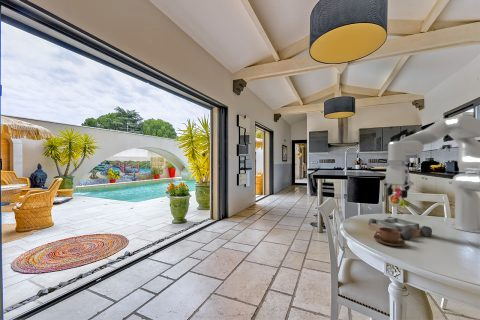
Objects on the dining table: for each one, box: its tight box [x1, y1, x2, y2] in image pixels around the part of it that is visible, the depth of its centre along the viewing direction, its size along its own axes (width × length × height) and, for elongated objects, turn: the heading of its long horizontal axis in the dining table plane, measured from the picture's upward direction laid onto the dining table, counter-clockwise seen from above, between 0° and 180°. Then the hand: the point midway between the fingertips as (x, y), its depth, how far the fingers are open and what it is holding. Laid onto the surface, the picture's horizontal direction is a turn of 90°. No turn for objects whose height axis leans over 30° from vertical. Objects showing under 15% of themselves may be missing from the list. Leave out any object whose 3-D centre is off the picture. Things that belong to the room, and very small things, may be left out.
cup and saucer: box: [373, 228, 406, 247], centre depth 95 cm, size 12×12×6 cm
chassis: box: [367, 216, 433, 241], centre depth 110 cm, size 22×20×6 cm
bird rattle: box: [388, 187, 411, 210], centre depth 110 cm, size 6×11×9 cm
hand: (397, 196), depth 110 cm, fingers closed on bird rattle, 6 cm apart
